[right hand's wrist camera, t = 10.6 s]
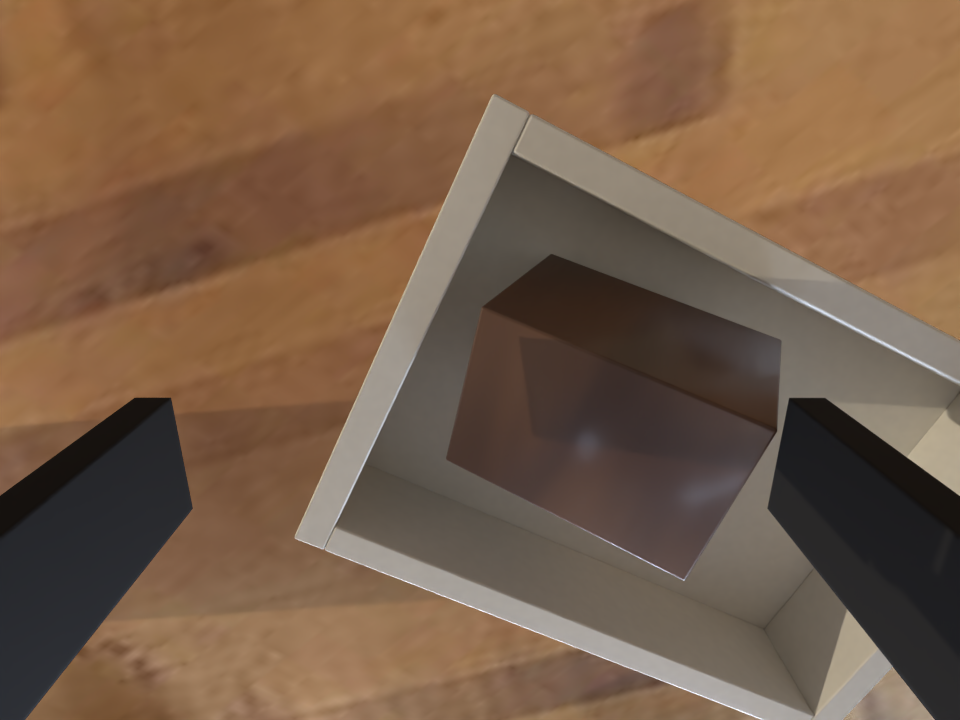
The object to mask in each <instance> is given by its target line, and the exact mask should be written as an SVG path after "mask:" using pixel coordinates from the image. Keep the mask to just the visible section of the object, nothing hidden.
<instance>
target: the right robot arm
mask: <svg viewBox="0 0 960 720" xmlns="http://www.w3.org/2000/svg"><path fill="white" fill-rule="evenodd" d="M192 509H193V508H192V502H191V497H190V492H189V487H188V482H187V477H186V472H185V467H184V462H183V457H182V452H181V447H180V441H179V436H178V431H177V426H176V421H175V416H174V411H173V406H172V401H171V398H134V399H133V400H131V401H130V402H128V403H127V404H126V405H124V406H123V407H122V408H120V409H119V410H117V411H116V412H115V413H113V414H112V415H111V416H109V417H108V418H106V419H105V420H104V421H102V422H101V423H100V424H98V425H97V426H95V427H94V428H93V429H91V430H90V431H89V432H87V433H86V434H84V435H83V436H82V437H80V438H79V439H78V440H76V441H75V442H73V443H72V444H71V445H69V446H68V447H67V448H65V449H64V450H62V451H61V452H60V453H58V454H57V455H56V456H54V457H53V458H51V459H50V460H49V461H47V462H46V463H45V464H43V465H42V466H40V467H39V468H38V469H36V470H35V471H34V472H32V473H31V474H30V475H28V476H27V477H25V478H24V479H23V480H21V481H20V482H19V483H17V484H16V485H14V486H13V487H12V488H10V489H9V490H8V491H6V492H5V493H3V494H2V495H1V496H0V720H25V719H26V718H27V717H28V715H29V714H30V713H31V712H32V710H33V709H34V708H35V707H36V705H37V704H38V703H39V702H40V700H41V699H42V698H43V696H44V695H45V694H46V693H47V691H48V690H49V689H50V688H51V686H52V685H53V684H54V683H55V681H56V680H57V679H58V678H59V676H60V675H61V674H62V673H63V671H64V670H65V669H66V668H67V666H68V665H69V664H70V662H71V661H72V660H73V659H74V657H75V656H76V655H77V654H78V652H79V651H80V650H81V649H82V647H83V646H84V645H85V644H86V642H87V641H88V640H89V639H90V637H91V636H92V635H93V633H94V632H95V631H96V630H97V628H98V627H99V626H100V625H101V623H102V622H103V621H104V620H105V618H106V617H107V616H108V615H109V613H110V612H111V611H112V610H113V608H114V607H115V606H116V605H117V603H118V602H119V601H120V599H121V598H122V597H123V596H124V594H125V593H126V592H127V591H128V589H129V588H130V587H131V586H132V584H133V583H134V582H135V581H136V579H137V578H138V577H139V576H140V574H141V573H142V572H143V571H144V569H145V568H146V567H147V565H148V564H149V563H150V562H151V560H152V559H153V558H154V557H155V555H156V554H157V553H158V552H159V550H160V549H161V548H162V547H163V545H164V544H165V543H166V542H167V540H168V539H169V538H170V536H171V535H172V534H173V533H174V531H175V530H176V529H177V528H178V526H179V525H180V524H181V523H182V521H183V520H184V519H185V518H186V516H187V515H188V514H189V513H190V511H191V510H192ZM767 509H768V510H769V511H770V513H771V514H772V515H773V516H774V518H775V519H776V520H777V521H778V523H779V524H780V525H781V526H782V528H783V529H784V530H785V531H786V533H787V534H788V535H789V536H790V538H791V539H792V540H793V542H794V543H795V544H796V545H797V547H798V548H799V549H800V550H801V552H802V553H803V554H804V555H805V557H806V558H807V559H808V560H809V562H810V563H811V564H812V565H813V567H814V568H815V569H816V570H817V572H818V573H819V574H820V576H821V577H822V578H823V579H824V581H825V582H826V583H827V584H828V586H829V587H830V588H831V589H832V591H833V592H834V593H835V594H836V596H837V597H838V598H839V599H840V601H841V602H842V603H843V605H844V606H845V607H846V608H847V610H848V611H849V612H850V613H851V615H852V616H853V617H854V618H855V620H856V621H857V622H858V623H859V625H860V626H861V627H862V628H863V630H864V631H865V632H866V633H867V635H868V636H869V637H870V639H871V640H872V641H873V642H874V644H875V645H876V646H877V647H878V649H879V650H880V651H881V652H882V654H883V655H884V656H885V657H886V659H887V660H888V661H889V662H890V664H891V665H892V666H893V668H894V669H895V670H896V671H897V673H898V674H899V675H900V676H901V678H902V679H903V680H904V681H905V683H906V684H907V685H908V686H909V688H910V689H911V690H912V691H913V693H914V694H915V695H916V696H917V698H918V699H919V700H920V702H921V703H922V704H923V705H924V707H925V708H926V709H927V710H928V712H929V713H930V714H931V715H932V717H933V718H934V719H935V720H960V496H959V495H958V494H957V493H955V492H954V491H952V490H951V489H950V488H948V487H947V486H946V485H944V484H943V483H941V482H940V481H939V480H937V479H936V478H935V477H933V476H932V475H930V474H929V473H928V472H926V471H925V470H924V469H922V468H921V467H920V466H918V465H917V464H915V463H914V462H913V461H911V460H910V459H909V458H907V457H906V456H904V455H903V454H902V453H900V452H899V451H898V450H896V449H895V448H893V447H892V446H891V445H889V444H888V443H887V442H885V441H884V440H882V439H881V438H880V437H878V436H877V435H876V434H874V433H873V432H871V431H870V430H869V429H867V428H866V427H865V426H863V425H862V424H860V423H859V422H858V421H856V420H855V419H854V418H852V417H851V416H849V415H848V414H847V413H845V412H844V411H843V410H841V409H840V408H838V407H837V406H836V405H834V404H833V403H832V402H830V401H829V400H827V399H826V398H789V401H788V406H787V411H786V416H785V421H784V426H783V431H782V436H781V441H780V447H779V452H778V457H777V462H776V467H775V472H774V477H773V482H772V487H771V492H770V497H769V502H768V508H767Z"/></svg>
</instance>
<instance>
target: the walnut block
mask: <svg viewBox="0 0 960 720" xmlns="http://www.w3.org/2000/svg"><path fill="white" fill-rule="evenodd" d="M781 344H782V341H781V340H780V339H777V338H775V337H772V336H769V335H767V334H764V333H761V332H759V331H756V330H753V329H751V328H748V327H745V326H743V325H740V324H737V323H735V322H732V321H729V320H727V319H724V318H721V317H719V316H716V315H713V314H711V313H708V312H705V311H703V310H700V309H697V308H695V307H692V306H689V305H687V304H684V303H681V302H679V301H676V300H673V299H671V298H668V297H665V296H663V295H660V294H657V293H655V292H652V291H649V290H647V289H644V288H641V287H639V286H636V285H633V284H631V283H628V282H625V281H623V280H620V279H617V278H615V277H612V276H610V275H607V274H604V273H602V272H599V271H596V270H594V269H591V268H588V267H586V266H583V265H580V264H578V263H575V262H572V261H570V260H567V259H564V258H562V257H559V256H556V255H554V254H550V255H549V256H547V257H546V258H545V259H543V260H542V261H541V262H540V263H538V264H537V265H536V266H534V267H533V268H532V269H530V270H529V271H528V272H527V273H525V274H524V275H523V276H521V277H520V278H519V279H517V280H516V281H515V282H514V283H512V284H511V285H510V286H508V287H507V288H506V289H504V290H503V291H502V292H501V293H499V294H498V295H497V296H495V297H494V298H493V299H491V300H490V301H489V302H487V303H486V304H485V305H484V306H482V308H481V311H480V316H479V320H478V324H477V328H476V333H475V337H474V341H473V345H472V350H471V354H470V358H469V362H468V367H467V371H466V375H465V379H464V384H463V388H462V392H461V396H460V401H459V405H458V409H457V413H456V418H455V422H454V426H453V430H452V435H451V439H450V443H449V447H448V452H447V456H446V460H447V461H449V462H451V463H453V464H455V465H457V466H459V467H461V468H463V469H465V470H467V471H469V472H471V473H473V474H475V475H477V476H479V477H481V478H483V479H485V480H487V481H489V482H491V483H492V484H494V485H496V486H498V487H500V488H502V489H504V490H506V491H508V492H510V493H512V494H514V495H516V496H518V497H520V498H522V499H524V500H526V501H528V502H530V503H532V504H534V505H536V506H538V507H540V508H542V509H544V510H546V511H548V512H549V513H551V514H553V515H555V516H557V517H559V518H561V519H563V520H565V521H567V522H569V523H571V524H573V525H575V526H577V527H579V528H581V529H583V530H585V531H587V532H589V533H591V534H593V535H595V536H597V537H599V538H601V539H603V540H604V541H606V542H608V543H610V544H612V545H614V546H616V547H618V548H620V549H622V550H624V551H626V552H628V553H630V554H632V555H634V556H636V557H638V558H640V559H642V560H644V561H646V562H648V563H650V564H652V565H654V566H656V567H658V568H659V569H661V570H663V571H665V572H667V573H669V574H671V575H673V576H675V577H677V578H679V579H681V580H686V579H687V577H688V575H689V574H690V572H691V571H692V569H693V567H694V566H695V564H696V562H697V561H698V559H699V558H700V556H701V554H702V553H703V551H704V549H705V548H706V546H707V545H708V543H709V541H710V540H711V538H712V537H713V535H714V533H715V532H716V530H717V528H718V527H719V525H720V524H721V522H722V520H723V519H724V517H725V515H726V514H727V512H728V511H729V509H730V507H731V506H732V504H733V502H734V501H735V499H736V498H737V496H738V494H739V493H740V491H741V489H742V488H743V486H744V485H745V483H746V481H747V480H748V478H749V477H750V475H751V473H752V472H753V470H754V468H755V467H756V465H757V464H758V462H759V460H760V459H761V457H762V455H763V454H764V452H765V451H766V449H767V447H768V446H769V444H770V442H771V441H772V439H773V438H774V436H775V434H776V433H777V426H778V406H779V385H780V365H781Z"/></svg>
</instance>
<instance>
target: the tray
mask: <svg viewBox="0 0 960 720" xmlns="http://www.w3.org/2000/svg"><path fill="white" fill-rule="evenodd" d="M550 254H554V255H556V256H559V257H562V258H564V259H567V260H570V261H572V262H575V263H578V264H580V265H583V266H586V267H588V268H591V269H594V270H596V271H599V272H602V273H604V274H607V275H610V276H612V277H615V278H617V279H620V280H623V281H625V282H628V283H631V284H633V285H636V286H639V287H641V288H644V289H647V290H649V291H652V292H655V293H657V294H660V295H663V296H665V297H668V298H671V299H673V300H676V301H679V302H681V303H684V304H687V305H689V306H692V307H695V308H697V309H700V310H703V311H705V312H708V313H711V314H713V315H716V316H719V317H721V318H724V319H727V320H729V321H732V322H735V323H737V324H740V325H743V326H745V327H748V328H751V329H753V330H756V331H759V332H761V333H764V334H767V335H769V336H772V337H775V338H777V339H780V340H781V341H782V344H781V365H780V385H779V406H778V426H777V433H776V434H775V436H774V438H773V439H772V441H771V442H770V444H769V446H768V447H767V449H766V451H765V452H764V454H763V455H762V457H761V459H760V460H759V462H758V464H757V465H756V467H755V468H754V470H753V472H752V473H751V475H750V477H749V478H748V480H747V481H746V483H745V485H744V486H743V488H742V489H741V491H740V493H739V494H738V496H737V498H736V499H735V501H734V502H733V504H732V506H731V507H730V509H729V511H728V512H727V514H726V515H725V517H724V519H723V520H722V522H721V524H720V525H719V527H718V528H717V530H716V532H715V533H714V535H713V537H712V538H711V540H710V541H709V543H708V545H707V546H706V548H705V549H704V551H703V553H702V554H701V556H700V558H699V559H698V561H697V562H696V564H695V566H694V567H693V569H692V571H691V572H690V574H689V575H688V577H687V579H686V580H681V579H679V578H677V577H675V576H673V575H671V574H669V573H667V572H665V571H663V570H661V569H659V568H658V567H656V566H654V565H652V564H650V563H648V562H646V561H644V560H642V559H640V558H638V557H636V556H634V555H632V554H630V553H628V552H626V551H624V550H622V549H620V548H618V547H616V546H614V545H612V544H610V543H608V542H606V541H604V540H603V539H601V538H599V537H597V536H595V535H593V534H591V533H589V532H587V531H585V530H583V529H581V528H579V527H577V526H575V525H573V524H571V523H569V522H567V521H565V520H563V519H561V518H559V517H557V516H555V515H553V514H551V513H549V512H548V511H546V510H544V509H542V508H540V507H538V506H536V505H534V504H532V503H530V502H528V501H526V500H524V499H522V498H520V497H518V496H516V495H514V494H512V493H510V492H508V491H506V490H504V489H502V488H500V487H498V486H496V485H494V484H492V483H491V482H489V481H487V480H485V479H483V478H481V477H479V476H477V475H475V474H473V473H471V472H469V471H467V470H465V469H463V468H461V467H459V466H457V465H455V464H453V463H451V462H449V461H447V460H446V456H447V452H448V447H449V443H450V439H451V435H452V430H453V426H454V422H455V418H456V413H457V409H458V405H459V401H460V396H461V392H462V388H463V384H464V379H465V375H466V371H467V367H468V362H469V358H470V354H471V350H472V345H473V341H474V337H475V333H476V328H477V324H478V320H479V316H480V311H481V308H482V306H484V305H485V304H486V303H487V302H489V301H490V300H491V299H493V298H494V297H495V296H497V295H498V294H499V293H501V292H502V291H503V290H504V289H506V288H507V287H508V286H510V285H511V284H512V283H514V282H515V281H516V280H517V279H519V278H520V277H521V276H523V275H524V274H525V273H527V272H528V271H529V270H530V269H532V268H533V267H534V266H536V265H537V264H538V263H540V262H541V261H542V260H543V259H545V258H546V257H547V256H549V255H550ZM789 398H826V399H827V400H829V401H830V402H832V403H833V404H834V405H836V406H837V407H838V408H840V409H841V410H843V411H844V412H845V413H847V414H848V415H849V416H851V417H852V418H854V419H855V420H856V421H858V422H859V423H860V424H862V425H863V426H865V427H866V428H867V429H869V430H870V431H871V432H873V433H874V434H876V435H877V436H878V437H880V438H881V439H882V440H884V441H885V442H887V443H888V444H889V445H891V446H892V447H893V448H895V449H896V450H898V451H899V452H900V453H902V454H903V455H904V456H906V457H907V458H909V459H910V460H911V461H913V462H914V463H915V464H917V465H918V466H920V467H921V468H922V469H924V470H925V471H926V472H928V473H929V474H930V475H932V476H933V477H935V478H936V479H937V480H939V481H940V482H941V483H943V484H944V485H946V486H947V487H948V488H950V489H951V490H952V491H954V492H955V493H957V494H958V495H959V496H960V340H958V339H956V338H954V337H952V336H950V335H948V334H947V333H945V332H943V331H941V330H939V329H937V328H935V327H933V326H931V325H930V324H928V323H926V322H924V321H922V320H920V319H918V318H916V317H915V316H913V315H911V314H909V313H907V312H905V311H903V310H901V309H899V308H898V307H896V306H894V305H892V304H890V303H888V302H886V301H884V300H882V299H881V298H879V297H877V296H875V295H873V294H871V293H869V292H867V291H866V290H864V289H862V288H860V287H858V286H856V285H854V284H852V283H850V282H849V281H847V280H845V279H843V278H841V277H839V276H837V275H835V274H833V273H832V272H830V271H828V270H826V269H824V268H822V267H820V266H818V265H817V264H815V263H813V262H811V261H809V260H807V259H805V258H803V257H801V256H800V255H798V254H796V253H794V252H792V251H790V250H788V249H786V248H784V247H783V246H781V245H779V244H777V243H775V242H773V241H771V240H769V239H768V238H766V237H764V236H762V235H760V234H758V233H756V232H754V231H752V230H751V229H749V228H747V227H745V226H743V225H741V224H739V223H737V222H735V221H734V220H732V219H730V218H728V217H726V216H724V215H722V214H720V213H719V212H717V211H715V210H713V209H711V208H709V207H707V206H705V205H703V204H702V203H700V202H698V201H696V200H694V199H692V198H690V197H688V196H686V195H685V194H683V193H681V192H679V191H677V190H675V189H673V188H671V187H670V186H668V185H666V184H664V183H662V182H660V181H658V180H656V179H654V178H653V177H651V176H649V175H647V174H645V173H643V172H641V171H639V170H637V169H636V168H634V167H632V166H630V165H628V164H626V163H624V162H622V161H621V160H619V159H617V158H615V157H613V156H611V155H609V154H607V153H605V152H604V151H602V150H600V149H598V148H596V147H594V146H592V145H590V144H589V143H587V142H585V141H583V140H581V139H579V138H577V137H575V136H573V135H572V134H570V133H568V132H566V131H564V130H562V129H560V128H558V127H556V126H555V125H553V124H551V123H549V122H547V121H545V120H543V119H541V118H540V117H538V116H536V115H533V114H531V115H530V116H529V112H528V111H526V110H525V109H523V108H521V107H519V106H517V105H515V104H513V103H511V102H510V101H508V100H506V99H504V98H502V97H500V96H498V95H496V94H493V95H492V97H491V99H490V101H489V103H488V106H487V108H486V110H485V112H484V115H483V117H482V119H481V121H480V124H479V126H478V128H477V130H476V132H475V135H474V137H473V139H472V141H471V144H470V146H469V148H468V150H467V153H466V155H465V157H464V159H463V161H462V164H461V166H460V168H459V170H458V173H457V175H456V177H455V179H454V182H453V184H452V186H451V188H450V190H449V193H448V195H447V197H446V199H445V202H444V204H443V206H442V208H441V211H440V213H439V215H438V217H437V219H436V222H435V224H434V226H433V228H432V231H431V233H430V235H429V237H428V240H427V242H426V244H425V246H424V249H423V251H422V253H421V255H420V257H419V260H418V262H417V264H416V266H415V269H414V271H413V273H412V275H411V278H410V280H409V282H408V284H407V286H406V289H405V291H404V293H403V295H402V298H401V300H400V302H399V304H398V307H397V309H396V311H395V313H394V315H393V318H392V320H391V322H390V324H389V327H388V329H387V331H386V333H385V336H384V338H383V340H382V342H381V344H380V347H379V349H378V351H377V353H376V356H375V358H374V360H373V362H372V365H371V367H370V369H369V371H368V374H367V376H366V378H365V380H364V382H363V385H362V387H361V389H360V391H359V394H358V396H357V398H356V400H355V403H354V405H353V407H352V409H351V411H350V414H349V416H348V418H347V420H346V423H345V425H344V427H343V429H342V432H341V434H340V436H339V438H338V440H337V443H336V445H335V447H334V449H333V452H332V454H331V456H330V458H329V461H328V463H327V465H326V467H325V469H324V472H323V474H322V476H321V478H320V481H319V483H318V485H317V487H316V490H315V492H314V494H313V496H312V499H311V501H310V503H309V505H308V507H307V510H306V512H305V514H304V516H303V519H302V521H301V523H300V525H299V528H298V530H297V532H296V534H295V539H297V540H300V541H302V542H305V543H308V544H310V545H313V546H315V547H318V548H320V549H324V548H325V550H326V551H328V552H331V553H333V554H336V555H338V556H341V557H344V558H346V559H349V560H351V561H354V562H356V563H359V564H362V565H364V566H367V567H369V568H372V569H374V570H377V571H380V572H382V573H385V574H387V575H390V576H393V577H395V578H398V579H400V580H403V581H405V582H408V583H411V584H413V585H416V586H418V587H421V588H424V589H426V590H429V591H431V592H434V593H436V594H439V595H442V596H444V597H447V598H449V599H452V600H454V601H457V602H460V603H462V604H465V605H467V606H470V607H473V608H475V609H478V610H480V611H483V612H485V613H488V614H491V615H493V616H496V617H498V618H501V619H504V620H506V621H509V622H511V623H514V624H516V625H519V626H522V627H524V628H527V629H529V630H532V631H534V632H537V633H540V634H542V635H545V636H547V637H550V638H553V639H555V640H558V641H560V642H563V643H565V644H568V645H571V646H573V647H576V648H578V649H581V650H584V651H586V652H589V653H591V654H594V655H596V656H599V657H602V658H604V659H607V660H609V661H612V662H615V663H617V664H620V665H622V666H625V667H627V668H630V669H633V670H635V671H638V672H640V673H643V674H645V675H648V676H651V677H653V678H656V679H658V680H661V681H664V682H666V683H669V684H671V685H674V686H676V687H679V688H682V689H684V690H687V691H689V692H692V693H695V694H697V695H700V696H702V697H705V698H707V699H710V700H713V701H715V702H718V703H720V704H723V705H725V706H728V707H731V708H733V709H736V710H738V711H741V712H744V713H746V714H749V715H751V716H754V717H756V718H759V719H762V720H843V719H844V718H845V716H846V715H847V714H848V713H849V712H850V711H851V710H852V709H853V708H854V707H855V706H856V705H857V704H858V703H859V702H860V701H861V700H862V699H863V697H864V696H865V695H866V694H867V693H868V692H869V691H870V690H871V689H872V688H873V687H874V686H875V685H876V684H877V683H878V682H879V681H880V680H881V678H882V677H883V676H884V675H885V674H886V673H887V672H888V671H889V670H890V669H891V668H892V667H893V666H892V665H891V664H890V662H889V661H888V660H887V659H886V657H885V656H884V655H883V654H882V652H881V651H880V650H879V649H878V647H877V646H876V645H875V644H874V642H873V641H872V640H871V639H870V637H869V636H868V635H867V633H866V632H865V631H864V630H863V628H862V627H861V626H860V625H859V623H858V622H857V621H856V620H855V618H854V617H853V616H852V615H851V613H850V612H849V611H848V610H847V608H846V607H845V606H844V605H843V603H842V602H841V601H840V599H839V598H838V597H837V596H836V594H835V593H834V592H833V591H832V589H831V588H830V587H829V586H828V584H827V583H826V582H825V581H824V579H823V578H822V577H821V576H820V574H819V573H818V572H817V570H816V569H815V568H814V567H813V565H812V564H811V563H810V562H809V560H808V559H807V558H806V557H805V555H804V554H803V553H802V552H801V550H800V549H799V548H798V547H797V545H796V544H795V543H794V542H793V540H792V539H791V538H790V536H789V535H788V534H787V533H786V531H785V530H784V529H783V528H782V526H781V525H780V524H779V523H778V521H777V520H776V519H775V518H774V516H773V515H772V514H771V513H770V511H769V510H768V509H767V508H768V502H769V497H770V492H771V487H772V482H773V477H774V472H775V467H776V462H777V457H778V452H779V447H780V441H781V436H782V431H783V426H784V421H785V416H786V411H787V406H788V401H789Z"/></svg>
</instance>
